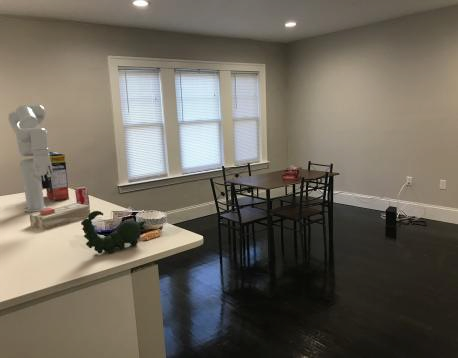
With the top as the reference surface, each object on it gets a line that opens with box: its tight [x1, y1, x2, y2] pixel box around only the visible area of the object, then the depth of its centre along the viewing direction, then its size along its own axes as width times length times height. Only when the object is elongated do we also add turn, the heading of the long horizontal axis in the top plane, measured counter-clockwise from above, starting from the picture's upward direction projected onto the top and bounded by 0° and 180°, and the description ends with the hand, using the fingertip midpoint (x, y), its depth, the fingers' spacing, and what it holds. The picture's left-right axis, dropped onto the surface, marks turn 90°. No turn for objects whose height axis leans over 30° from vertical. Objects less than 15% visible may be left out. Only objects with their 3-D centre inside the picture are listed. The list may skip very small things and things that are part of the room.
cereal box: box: [45, 151, 70, 202], centre depth 258 cm, size 27×11×32 cm, turn 34°
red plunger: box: [39, 207, 55, 215], centre depth 192 cm, size 5×5×4 cm
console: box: [28, 202, 91, 230], centre depth 198 cm, size 14×26×6 cm, turn 145°
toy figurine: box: [81, 210, 146, 255], centre depth 149 cm, size 9×19×25 cm
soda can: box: [74, 186, 91, 207], centre depth 223 cm, size 7×7×13 cm
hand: (46, 187), depth 191 cm, fingers closed
